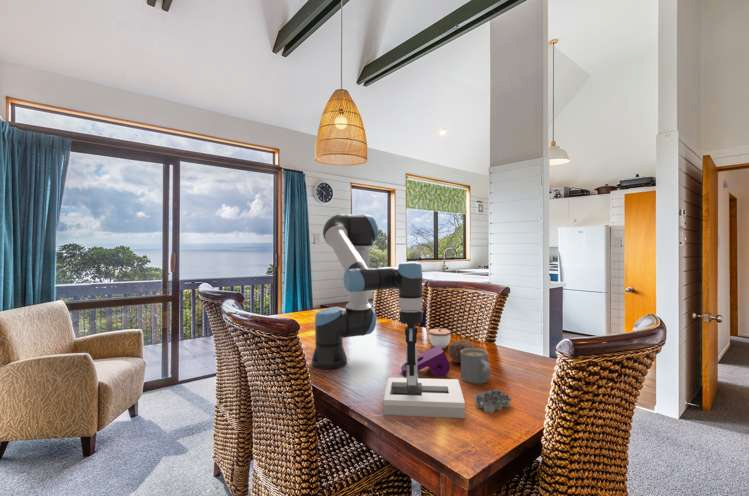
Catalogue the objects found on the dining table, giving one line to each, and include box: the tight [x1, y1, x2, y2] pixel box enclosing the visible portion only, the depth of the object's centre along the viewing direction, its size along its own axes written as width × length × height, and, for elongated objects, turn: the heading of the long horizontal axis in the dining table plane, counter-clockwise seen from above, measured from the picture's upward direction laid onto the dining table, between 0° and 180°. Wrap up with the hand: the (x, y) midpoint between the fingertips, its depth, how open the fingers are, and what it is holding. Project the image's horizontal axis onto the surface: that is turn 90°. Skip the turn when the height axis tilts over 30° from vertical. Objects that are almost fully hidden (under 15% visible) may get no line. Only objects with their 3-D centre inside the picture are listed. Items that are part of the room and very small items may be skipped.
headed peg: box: [401, 343, 422, 396], centre depth 115 cm, size 8×8×18 cm
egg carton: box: [473, 387, 513, 414], centre depth 112 cm, size 11×8×4 cm
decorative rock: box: [447, 338, 476, 364], centre depth 153 cm, size 13×11×10 cm
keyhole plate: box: [383, 377, 466, 419], centre depth 115 cm, size 24×18×4 cm
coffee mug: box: [460, 347, 491, 384], centre depth 133 cm, size 13×10×10 cm
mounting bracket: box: [400, 345, 451, 377], centre depth 142 cm, size 9×8×18 cm
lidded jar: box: [428, 327, 452, 349], centre depth 176 cm, size 11×11×9 cm
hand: (412, 382), depth 115 cm, fingers closed on headed peg, 3 cm apart
